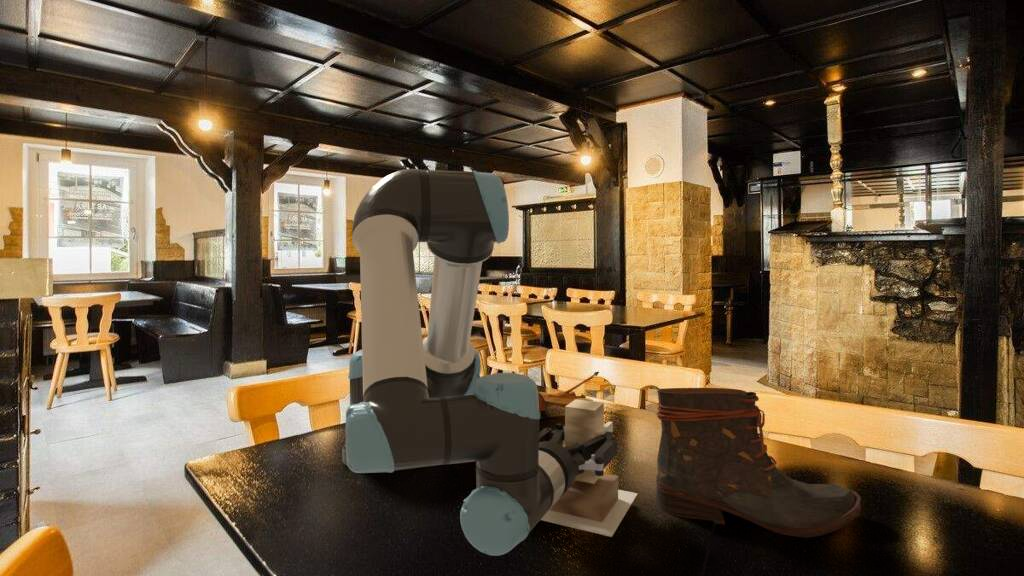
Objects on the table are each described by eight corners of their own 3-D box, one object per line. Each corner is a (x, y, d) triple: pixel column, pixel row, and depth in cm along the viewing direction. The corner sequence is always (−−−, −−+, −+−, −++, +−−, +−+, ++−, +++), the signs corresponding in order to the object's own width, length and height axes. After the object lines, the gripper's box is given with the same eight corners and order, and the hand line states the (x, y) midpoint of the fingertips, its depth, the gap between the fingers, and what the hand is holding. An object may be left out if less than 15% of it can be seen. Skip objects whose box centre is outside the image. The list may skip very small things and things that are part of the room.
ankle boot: (878, 544, 76) (882, 409, 75) (658, 525, 82) (659, 399, 81) (844, 507, 88) (848, 389, 86) (653, 492, 94) (654, 381, 92)
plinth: (549, 510, 86) (549, 486, 86) (568, 488, 94) (568, 466, 94) (602, 522, 82) (602, 497, 82) (618, 498, 90) (618, 475, 90)
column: (565, 478, 87) (565, 406, 86) (575, 467, 91) (575, 399, 91) (594, 483, 85) (594, 410, 84) (603, 472, 89) (603, 402, 88)
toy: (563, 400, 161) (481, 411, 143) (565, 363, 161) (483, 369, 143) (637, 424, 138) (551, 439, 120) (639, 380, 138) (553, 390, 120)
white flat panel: (462, 502, 90) (462, 500, 90) (506, 469, 104) (506, 467, 104) (611, 539, 78) (611, 536, 78) (637, 495, 92) (637, 493, 92)
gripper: (483, 490, 76) (547, 440, 97) (605, 517, 68) (646, 456, 88) (483, 439, 75) (547, 399, 96) (605, 460, 67) (646, 412, 88)
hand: (594, 427), depth 92 cm, fingers closed on column, 5 cm apart
